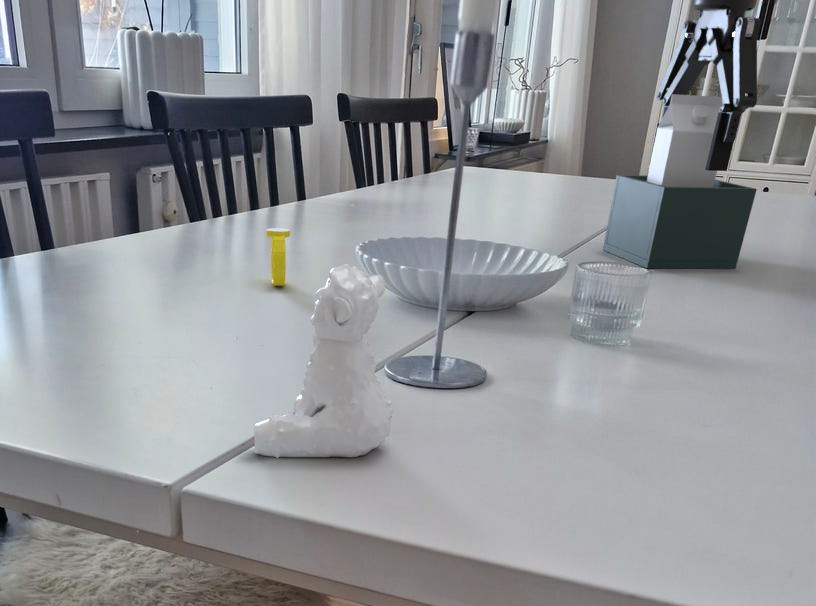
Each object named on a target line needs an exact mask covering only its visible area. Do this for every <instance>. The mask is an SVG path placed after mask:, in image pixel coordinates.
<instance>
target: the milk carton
mask: <svg viewBox="0 0 816 606" xmlns="http://www.w3.org/2000/svg"><path fill="white" fill-rule="evenodd" d="M722 105H723V102H722V96H712V95H696V94H695V95H694V94H693V95H691V94H687V95H677V94H672V97H671V102H670V105H669V107H668V109H667V111H666V112H665V114H664V116H663V115H662V116H663V118H662V117H661V120H660V122H659V124H658V126H657V128H656V133H655V138H654V143H653V149H652V154H651V158H650V162H649V168H648V171H647V172H648V173H647V176H648V177H647V182H650V183H654V184H658V185H662V186H666V187H713V186H714V182H715V180H716V179H717V174H718V171H708V170H705V169H706V164H707V160H708V156H709V151H710V147H711V143H712V138H713V134H714V130H715V125H716V121H717V117H718V112H719V109H720V108H721V107H722ZM723 113H725V112H723Z"/></svg>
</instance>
